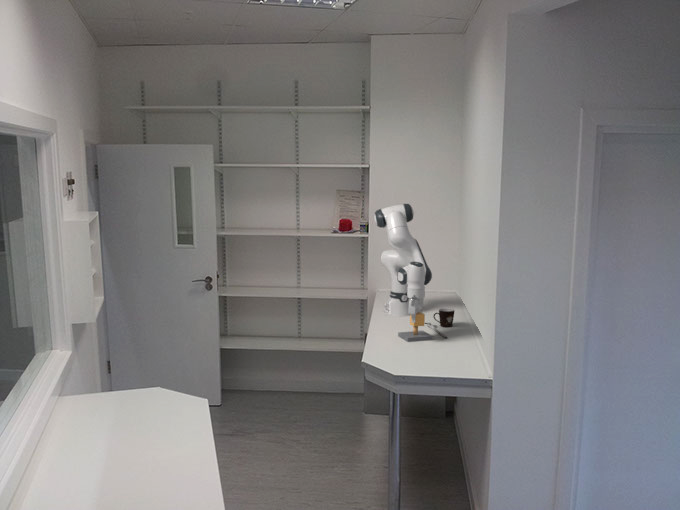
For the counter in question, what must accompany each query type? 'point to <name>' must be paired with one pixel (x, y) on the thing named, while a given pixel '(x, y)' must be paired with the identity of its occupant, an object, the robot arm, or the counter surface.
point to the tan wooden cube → (418, 319)
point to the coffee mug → (445, 317)
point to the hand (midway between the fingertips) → (415, 320)
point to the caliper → (435, 329)
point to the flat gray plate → (415, 335)
